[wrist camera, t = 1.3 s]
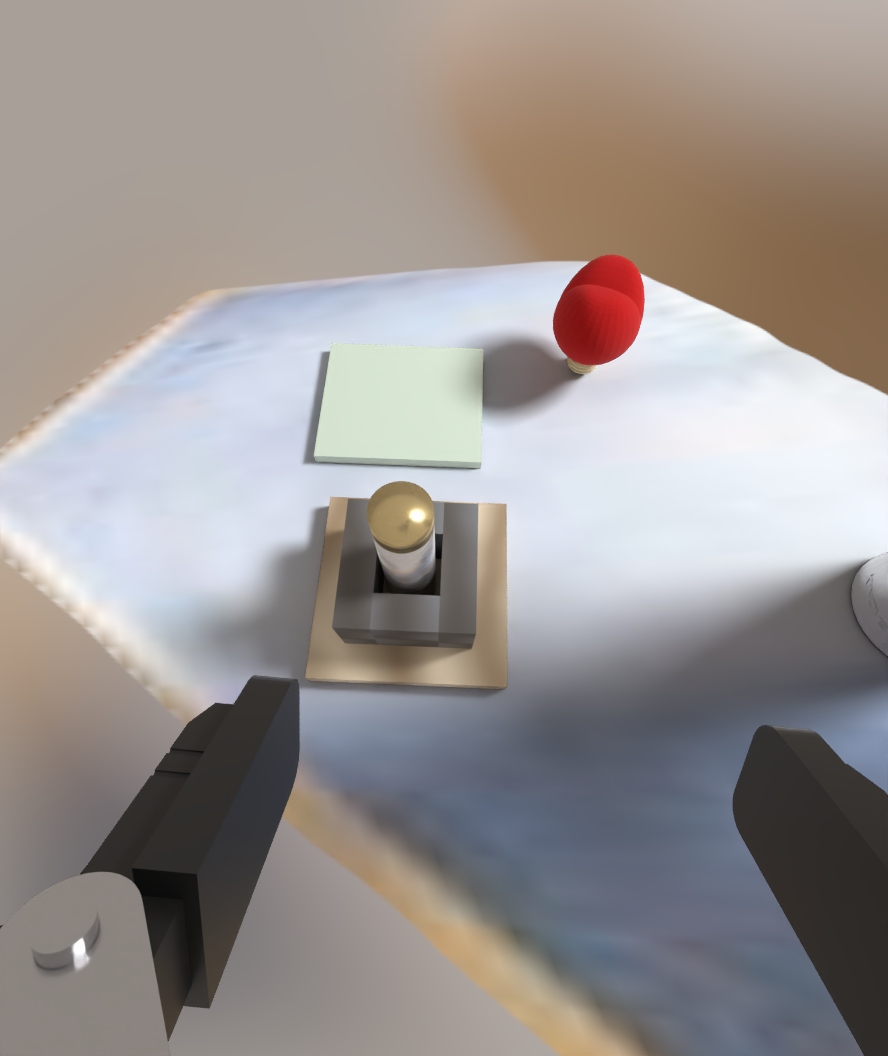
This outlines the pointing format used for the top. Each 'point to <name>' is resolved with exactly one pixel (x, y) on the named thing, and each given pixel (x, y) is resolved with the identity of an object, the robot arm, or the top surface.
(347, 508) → the stand
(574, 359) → the red rounded lobed piece
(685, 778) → the top surface
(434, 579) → the key peg
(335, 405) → the sage mat
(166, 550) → the top surface
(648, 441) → the top surface
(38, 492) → the top surface
